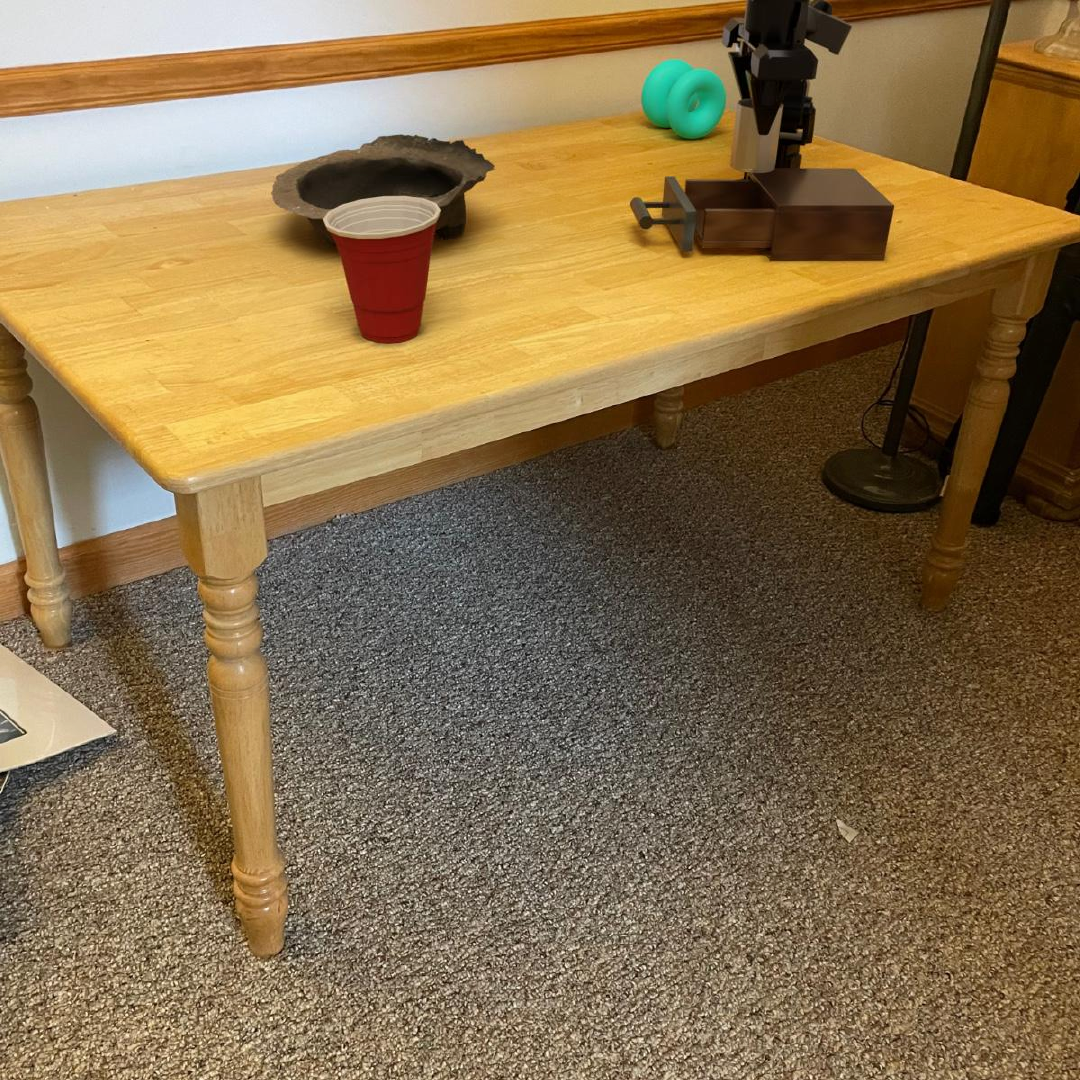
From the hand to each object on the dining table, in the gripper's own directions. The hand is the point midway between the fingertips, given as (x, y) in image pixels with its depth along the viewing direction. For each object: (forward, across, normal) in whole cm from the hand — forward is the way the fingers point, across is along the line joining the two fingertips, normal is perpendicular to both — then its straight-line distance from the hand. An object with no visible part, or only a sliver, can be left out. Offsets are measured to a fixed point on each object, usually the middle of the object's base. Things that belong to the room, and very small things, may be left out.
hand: (757, 128), depth 133 cm
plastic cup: (+13, -27, +42) cm, 51 cm away
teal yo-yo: (+13, +48, -1) cm, 50 cm away
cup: (+4, 0, 0) cm, 4 cm away
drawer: (+12, 0, +5) cm, 13 cm away
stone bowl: (+13, +1, +43) cm, 45 cm away
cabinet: (+13, 0, -8) cm, 15 cm away
